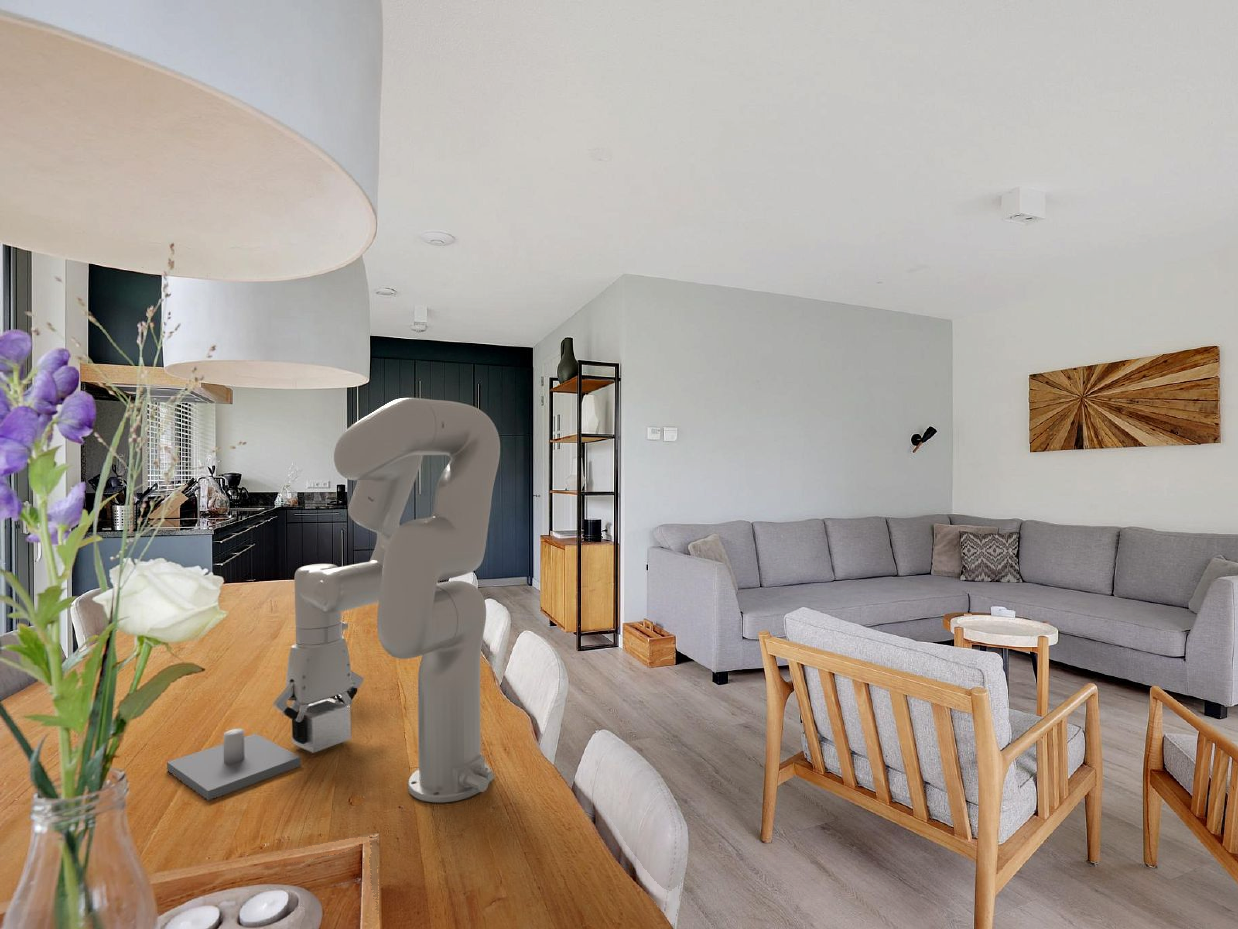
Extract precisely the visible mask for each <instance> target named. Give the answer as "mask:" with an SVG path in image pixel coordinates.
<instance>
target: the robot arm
mask: <svg viewBox="0 0 1238 929" xmlns="http://www.w3.org/2000/svg"><path fill="white" fill-rule="evenodd" d="M500 440H501V439H500V436H499V432H498V429H497V428H496V426H495V423H494V422H493V421H492V419H491V418H490V417H489V416H488V414H486V413H485V412H484V411H482V409H479V408H477V407H475V406H472V405H470V404H467V403H461V402H457V401H451V400H441V399H439V400H438V399H430V398H429V399H428V398H421V397H403V398H398V399H394V400H392V401H390V402H388V403H386V404H385V405H383V406H381V407H379V408H378V409H376V410H375V411H373V412H372V413H369V414H368V415H366V416H364V417H363V418H361V419H360V420H358V421H356V422H355V423H353V424H351V426H349V427H348V428H347V429H346V430H345V431H344V432H343V433H342V434H341V435H340V437H339V438H338V440H337V443H336V444H335V448H334V452H333V462H334V466H335V468H336V470H337V472H338V474H339V475H340V476H342V477H343V478H345V479H347V480H350V481H357V482H356V485H355V488H354V490H353V493H352V496H351V499H350V501H349V504H348V506H347V507H348V508H347V511H348V512H347V513H348V516H349V517H350V519H351V520H352V521H353V522H354V523H356V524H357V525H359V526H361V527H362V528H364V529H367V530H369V531H372V532H374V533H376V543H375V547H374V549H373V552H372V555H371V557H370V559H369V561H365V562H359V563H355V564H349V565H343V566H338V565H336V564H332V563H315V564H309V565H308V564H307V565H304V566H301V567H299V568H297V569H296V571H295V573H294V579H293V580H294V609H295V611H294V615H295V616H294V617H295V618H294V619H295V644H293V645H291V646H290V650H289V654H288V655H289V656H288V661H287V668H286V679H285V680H286V682H285V689H283V691H282V692H281V693H280V694H279V695H278V696H277V697H276V699H275V700H274V701H273V704H272V706H273V707H274V708H276V709H277V710H279V711H280V713H281V714H283V715H284V716H286V717H287V718H288V719H291V732H292V733H291V736H293V739H294V740H295V741H297V742H299V743H301V744H305V743H306V742H307V731H306V720H304V719H303V718H304V715H305V713H306V710H307V708H308V706H309V704H311V703H315V702H318V701H321V700H324V699H327V698H331V697H333V698H335V700H337V701H339V702H342V703H345V704H348V705H350V706H351V705H352V703H353V699H354V698H355V696H356V694H357V693H358V691H359V688H361V686H362V684H363V682H364V677H363V676H361V675H360V674H358V673H356V672H354V671H353V670H352V668H351V667H352V666H351V659H350V653H349V648H348V644H347V641H346V640H347V639H346V638H345V637H344V636H343V635H344V631H346V630H348V629H349V623H348V622H347V621H345V622H344V621H343V620H342V619H343V617H342V616H343V612H347V611H350V610H353V609H355V610H356V609H357V608H362V607H366V606H369V605H373V604H377V603H378V606H377V614H376V615H377V616H376V627H377V630H376V631H377V635H378V639H379V642H380V644H381V646H382V648H383V649H384V651H385V652H386V653H387V654H388V655H389V656H392V657H393V658H396V659H400V660H408V659H413V658H414V659H415V658H417V657H420V656H421V659H420V661H419V662H420V663H419V667H418V674H417V675H418V677H417V716H418V717H417V719H418V720H417V723H418V725H417V728H418V730H417V735H418V737H417V738H418V739H417V740H418V743H417V744H418V745H417V746H418V769H416V770H415V771H414V772H413V773H412V774H411V775H410V777H409V778H408V781H407V783H408V784H407V785H408V786H407V789H408V793H409V794H410V795H411V796H412V797H414V798H416V799H418V800H420V801H422V802H429V803H437V804H438V803H452V802H457V801H461V800H465V799H469V798H470V797H473V796H476V795H477V794H479V793H484V792H485V791H487V789H488V787H489V784H490V782H492V781H493V780H494V778H495V772H494V771H492V769H491V768H490V767H489V765H488V764H487V763H486V760H485V759H486V758H485V755H482V736H481V735H482V733H481V732H482V731H481V730H482V729H481V728H482V726H481V723H482V719H481V718H482V717H481V716H482V715H481V714H482V713H481V711H482V710H481V705H482V704H481V680H482V679H481V676H482V675H481V672H482V670H481V663H482V662H481V661H482V647H483V638H484V633H485V628H486V623H487V606H486V600H485V597H484V596H483V595H482V593H481V592H482V591H480V590H479V588H477V587H476V586H475V585H473V584H472V583H469V582H467V581H464V580H450V581H446V580H449V579H454V578H458V577H462V576H465V575H467V574H470V573H472V572H474V571H476V570H477V569H478V568H479V567H480V566H481V564H482V563H483V560H484V556H485V552H486V546H487V545H486V544H487V539H488V532H489V524H490V523H489V522H490V514H491V510H492V509H491V508H492V497H493V492H494V491H493V490H494V484H495V481H496V475H497V472H498V467H499V463H500V458H501V457H500V455H501V442H500ZM424 456H447V457H449V458H450V460H449V462H448V464H447V465H446V467H445V468H444V469H443V471H442V472H441V475H440V477H439V480H438V482H437V486H436V489H435V497H434V498H435V499H434V503H433V509H432V513H431V515H430V517H425V518H416V519H412V520H409V521H406V522H404V523H402V524H401V525H400V522H401V517H402V516H403V512H404V510H405V509H406V508H405V507H406V505H407V502H408V500H409V496H410V494H411V491H412V489H413V485H414V483H415V480H416V478H417V475H418V473H419V470H420V468H421V465H422V461H423V457H424ZM441 581H444V582H441ZM438 582H440V583H438ZM334 696H335V697H334ZM331 699H332V698H331ZM288 701H290V702H293V701H294V704H293V706H292V708H290V705H288ZM293 739H292V740H293Z"/></svg>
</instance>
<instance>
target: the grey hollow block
mask: <svg viewBox="0 0 1238 929" xmlns="http://www.w3.org/2000/svg"><path fill="white" fill-rule="evenodd" d="M293 704H294V701H291V704H290V705H289V707H290V708H292V706H293ZM303 719H304V720H306V731H307V742H306V743H305V744H301V743H299V742H297V741H295V740H294V739H293V736H292V735H291V736H292V739H291V740H292V744H293V745H295V746H297V747H299V748H301V749H304V750H306V751H307V752H310V753H312V754H313V753H317V752H319V751H322V750H325V749H327V748H330V747H333V746H335V745H336V746H337V745H338V744H341V743H344V742H346V741H349V740H351V739H352V726H351V720H352V719H351V705H348V704H345V703H342V702H339V701H337V699H333V698H328V699H324V700H321V701H318V702H314V703H311V704H309V706H308V708H307V710H306V713H305V715H304V718H303Z"/></svg>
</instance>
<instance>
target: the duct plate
mask: <svg viewBox="0 0 1238 929" xmlns="http://www.w3.org/2000/svg"><path fill="white" fill-rule="evenodd" d="M222 735H223V739H222V740H223V743H221V744H219V745H216V746H213V747H210V748H206V749H204V750H200V751H196V752H194V753H191V754H187V755H185V756H182V757H178V758H175V759H172V760H169V761H167V762H166V771H167V770H168V771H169V772H170V773H172V774H173V775H175V776H174V777H175V778H176V777H177V778H178V779H177V778H176V779H177V780H179V781H180V780H181V781H182V782H181V781H180V782H181V783H183V784H185V785H186V786H187V785H188V786H187V787H188V788H190V789H191V788H192V789H191V790H192V791H194V790H195V791H196V792H195V791H194V792H195V793H196V794H198V795H199V794H200V795H199V796H201V797H202V796H203V797H202V798H203V799H205V798H206V799H207V800H206V799H205V800H206V801H208V802H210V801H212V800H214V799H213V798H215V799H217V798H220V797H222V795H223V796H225V795H228V794H230V793H233V792H236V791H238V790H241V789H244V788H246V787H249V786H251V785H255V784H257V783H259V782H261V781H264V780H265V781H266V780H268V779H270V778H273V777H275V776H277V775H281V774H282V773H283V774H284V773H286V772H288V771H290V770H293V769H296V768H299V767H301V759H302V758H301V756H299V755H298V754H296V753H294V752H292V751H290V750H288V749H286V748H285V747H283V746H281V745H279V744H276V743H274V742H273V741H271V740H269V739H268V738H265V737H263V736H262V735H259V734H257V733H253V734H250V735H245V729H243V728H232V729H230V730H227V731H225V732H223V734H222ZM168 771H167V772H168ZM169 772H168V773H169ZM170 773H169V774H170ZM172 774H171V775H172ZM173 775H172V776H173ZM216 797H217V798H216ZM211 799H212V800H211ZM209 800H210V801H209Z"/></svg>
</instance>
